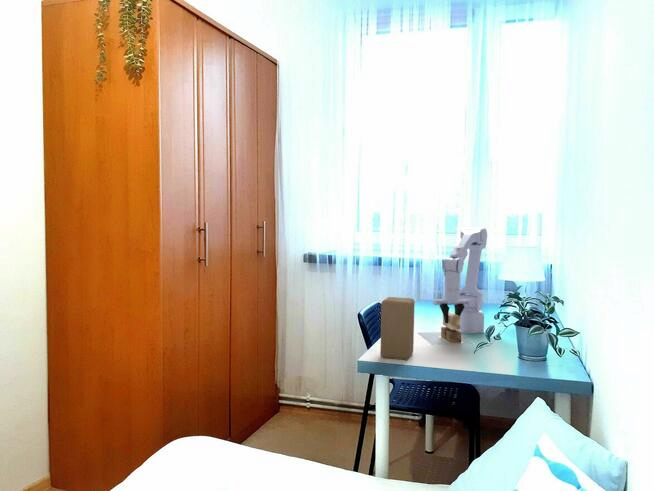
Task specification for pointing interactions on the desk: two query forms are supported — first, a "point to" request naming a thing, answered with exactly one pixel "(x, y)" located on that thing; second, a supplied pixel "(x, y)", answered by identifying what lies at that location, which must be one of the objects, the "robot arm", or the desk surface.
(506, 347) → the desk surface
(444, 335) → the brown wooden cube
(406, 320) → the wooden block
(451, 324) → the tan rectangular block
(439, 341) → the board
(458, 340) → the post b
